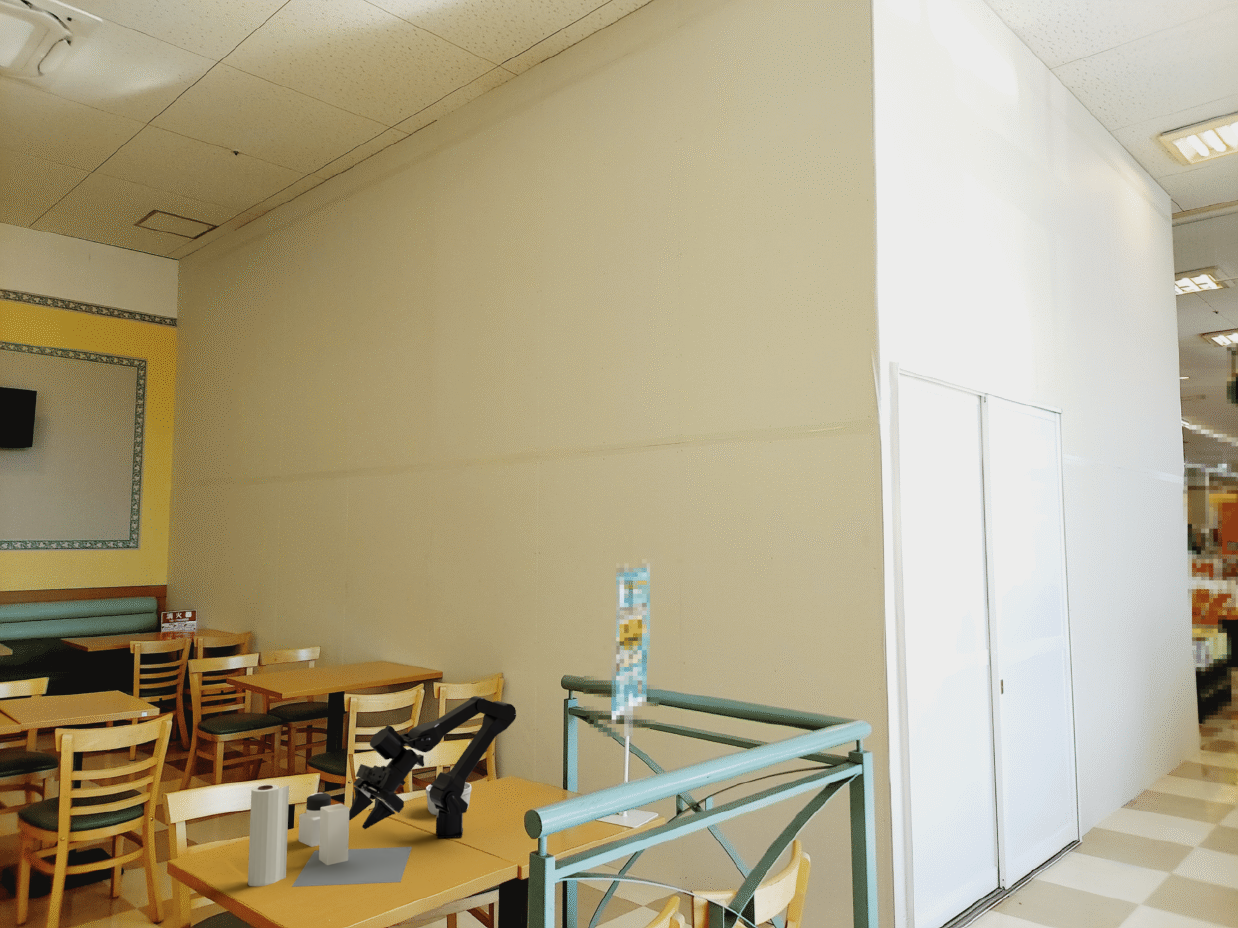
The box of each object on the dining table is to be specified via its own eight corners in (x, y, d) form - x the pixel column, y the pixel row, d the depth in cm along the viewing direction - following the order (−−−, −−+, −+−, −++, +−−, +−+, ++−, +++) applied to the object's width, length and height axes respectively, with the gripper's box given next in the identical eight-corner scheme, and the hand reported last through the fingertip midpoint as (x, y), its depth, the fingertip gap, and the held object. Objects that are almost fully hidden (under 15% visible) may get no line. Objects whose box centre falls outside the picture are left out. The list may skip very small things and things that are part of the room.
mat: (411, 848, 227) (411, 846, 227) (400, 883, 203) (400, 881, 203) (314, 851, 224) (314, 850, 224) (291, 888, 200) (291, 886, 200)
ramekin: (426, 805, 265) (426, 781, 265) (470, 803, 267) (471, 779, 268) (424, 818, 252) (425, 793, 252) (471, 816, 254) (472, 791, 255)
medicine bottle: (337, 841, 232) (338, 794, 233) (311, 848, 227) (313, 799, 228) (323, 835, 237) (324, 789, 238) (297, 842, 232) (299, 794, 233)
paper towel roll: (242, 886, 201) (245, 789, 203) (257, 877, 207) (261, 782, 209) (271, 889, 200) (274, 791, 202) (285, 879, 206) (289, 784, 208)
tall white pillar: (339, 854, 221) (340, 803, 222) (347, 860, 217) (349, 807, 218) (318, 859, 218) (320, 807, 219) (327, 865, 214) (328, 811, 215)
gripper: (361, 745, 233) (319, 796, 225) (392, 758, 219) (349, 813, 211) (388, 770, 238) (348, 821, 230) (421, 784, 223) (380, 840, 215)
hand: (355, 823), depth 221 cm, fingers open, 9 cm apart
